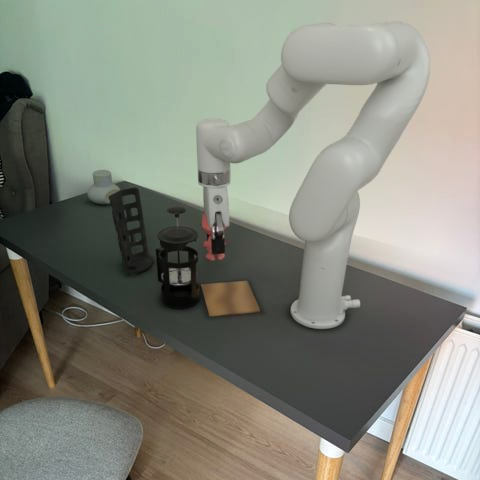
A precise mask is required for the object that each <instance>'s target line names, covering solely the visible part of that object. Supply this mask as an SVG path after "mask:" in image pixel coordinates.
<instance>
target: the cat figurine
mask: <svg viewBox="0 0 480 480" xmlns="http://www.w3.org/2000/svg"><path fill="white" fill-rule="evenodd" d="M213 225H214V226H217V225H216V224H213ZM199 226H200V227H201V229H200V231H202V230H203V231H204V233H206V235H207V234H208V235H209V238H208V241H207V240H205V241H203V245H202V246H203V247H204V248H205V249H206V251H207V253H206V254H205V259H208V260H209V261H215V260H216V258H217V259H218V260H222V259H225V257H226V254H225V253H223V254H216V256H215V254H212V250H211V238H212V228H210V227H209V225H208V222H207V219H206V215H205V213H202V219H201V224H200V225H199ZM223 227H224V233H225V231H226V230H227V229H228V227H225V225H224V223H223ZM214 230H215V232H217V229H214ZM226 245H227V242H226V241H225V246H226Z"/></svg>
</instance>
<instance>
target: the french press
mask: <svg viewBox="0 0 480 480" xmlns="http://www.w3.org/2000/svg"><path fill="white" fill-rule="evenodd" d="M166 212H167V213H169V214H171V215H172V214H173V215H174V218H175V222H176V223H175V224H176V226H175V225H173V226H168V227H165V228H162V229H161V230H159V231H158V232H157V235H156V237H157V239H158V240H159V247H157V248H155V259H156V261H155V262H156V272H157V274H156V275H157V281H158V283H160V284H161V285H160V293H161V294H160V302H161V304H162V305H163V306H165V307H167V308H169V309H173V310H186V309H187V310H188V309H190V308H193V307H195V306H197V305H198V304H199V303H200V300H201V295H200V285H199V283H198V282H197V280H198V273H197V263H198V262H199V251H198V250H197V249H195V248H193V247H192V246H188V244H190V243H193V242H197V239H198V238H199V233H198V231H197V230H195V229H194V228H192V227H188V226H182V225H181V226H180V225H179V218H180V215H181V214H184V213H186V212H187V207H185V206H182V205H172V206H169V207H167V209H166ZM171 252H172V253H173V252H177V262H170V261H169V253H171ZM180 252H187V259H188V260H187V261H186V262H181V261H180V260H181V259H180V257H181V256H180ZM178 291H183V292H189V293H190V294H188V295H183V296H177V295H171V294H172V293H174V292H178Z"/></svg>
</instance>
